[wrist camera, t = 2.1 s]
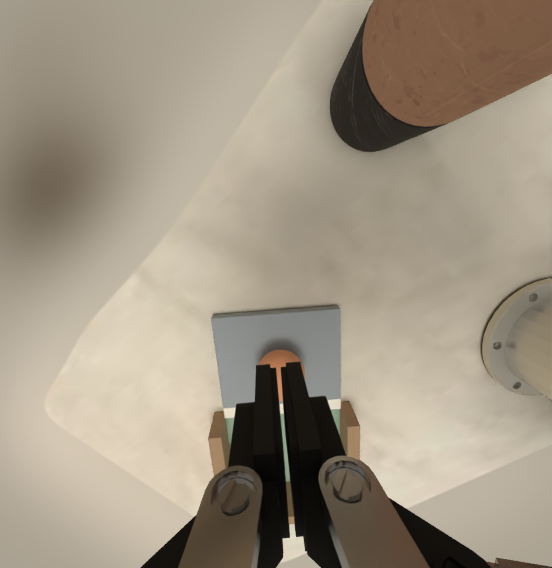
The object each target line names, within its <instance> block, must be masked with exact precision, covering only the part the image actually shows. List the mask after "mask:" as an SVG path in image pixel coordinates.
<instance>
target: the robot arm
mask: <svg viewBox="0 0 552 568" xmlns="http://www.w3.org/2000/svg"><path fill="white" fill-rule="evenodd" d="M482 356H483V360H484V364H485V366H486V368H487V370H488V372H489V374H490V375H491V376H492V377H493V378H494V379H495V380H496V381H497V382H499V383H500V384H501V385H503V386H504V387H505V388H507V389H509V390H510V391H512V392H515V393H519V394H522V395H531V396H536V395H545V396H546V397H548V398H549V399H551V400H552V278H548V279H544V280H540V281H537V282H534V283H532V284H530V285H527V286H525V287H523V288H522V289H520V290H519V291H517V292H516V293H514V294H513V295H512V296H510V297H509V298H508V299H507V300H506V301H505V302H503V304H502V305H501V306H500V307H499V308H498V310H497V311H496V312H495V313H494V315H493V317H492V318H491V320H490V322H489V323H488V326H487V328H486V331H485V333H484V338H483V343H482ZM281 381H282V395H283V410H284V425H285V436H286V446H287V455H288V465H289V474H290V484H291V494H292V503H293V513H294V522H295V532H296V537H300V536H303V537H304V545H305V551H307V554H308V556H309V557H310V558H311V559H313V560H314V561H315V562H316V563H317V564H318V565H319V566H320V567H321V568H552V567H549V566H543V565H537V564H531V563H525V562H519V561H513V560H507V559H501V558H496V560H495V563H491V562H486V561H485V560H484V559H482V558H481V557H480V556H479V555H477V554H476V553H475V552H473V551H472V550H470V549H469V548H467V547H466V546H464V545H462V544H461V543H459V542H458V541H456V540H455V539H453V538H451V537H450V536H448V535H447V534H445V533H444V532H442V531H440V530H439V529H437V528H436V527H434V526H432V525H431V524H429V523H428V522H426V521H425V520H423V519H421V518H420V517H418V516H416V515H415V514H413V513H412V512H410V511H409V510H407V509H406V508H404V507H403V506H401V505H399V504H398V503H396V502H395V501H393V500H391V499H390V498H388V496H387V495H386V493H385V491H384V490H383V488H382V486H381V485H380V483H379V481H378V480H377V478H376V476H375V475H374V473H373V472H372V471H371V469H370V468H369V467H368V466H367V465H366V464H364V463H363V462H362V461H360V460H358V459H356V458H354V457H349V456H346V453H345V450H344V447H343V444H342V441H341V438H340V435H339V433H338V430H337V427H336V424H335V421H334V418H333V415H332V412H331V409H330V406H329V403H328V400H327V398H326V396H316V397H309V395H308V391H307V387H306V383H305V379H304V375H303V371H302V367H301V363H300V362H288V363H286V367H281ZM282 538H290V532H289V518H288V503H287V489H286V475H285V461H284V449H283V437H282V426H281V415H280V405H279V394H278V383H277V372H276V367H275V368H271V367H270V364H264V365H256V379H255V402H248V403H237V404H236V409H235V416H234V424H233V432H232V439H231V447H230V455H229V463H228V468H226V469H223V470H222V471H220V472H219V473H218V474H216V475H215V476H214V477H213V478H212V480H211V481H210V482H209V484H208V486H207V488H206V490H205V492H204V495H203V498H202V501H201V504H200V507H199V510H198V512H197V515H196V516H195V517H194V518H193V519H192V520H191V521H189V522H188V524H186V525H185V526H184V527H183V528H182V529H181V530H180V531H179V532H178V533H177V534H176V535H175V536H174V537H172V539H170V540H169V541H168V542H167V543H166V544H165V545H164V546H163V547H162V548H161V549H160V550H159V551H158V552H157V553H156V554H155V555H153V556H152V557H151V558H150V559H149V560H148V561H147V562H146V563H145V564H144V565H143V566H142V567H141V568H276V567H277V565H278V564H279V563H280V561H281V560H282V558H283V541H282Z"/></svg>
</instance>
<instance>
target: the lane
mask: <svg viewBox="0 0 552 568" xmlns="http://www.w3.org/2000/svg"><path fill="white" fill-rule="evenodd" d="M211 321H212V328H213V336H214V343H215V350H216V358H217V365H218V373H219V380H220V388H221V395H222V402H223V410H224V412H215V413H214V417H213V421H212V425H211V429H210V433H209V438H208V441H209V447H210V453H211V460H212V466H213V472H214V476H215V475H216V474H218V473H219V472H220V471H222V470H223V469H226V468H228V463H229V455H230V447H231V439H232V432H233V424H234V416H235V409H236V404H237V403H248V402H255V379H256V365H258V364H259V362H260V361H261V359H262V358H263V357H264V356H265V355H266V354H268V353H269V352H271V351H274V350H287V351H290V352H292V353H293V354H295V355H296V356H297V357H298V358H299V359H300V360H301V362H302V364H303V366H304V369H305V383H306V387H307V391H308V395H309V397H316V396H326V398H327V400H328V403H329V406H330V409H331V412H332V415H333V418H334V421H335V424H336V427H337V430H338V433H339V435H340V438H341V441H342V444H343V447H344V450H345V453H346V456H349V457H354V458H356V459H358V460H360V424H359V422H358V420H357V418H356V415H355V413H354V411H353V409H352V406H351V404H350V402H341V365H340V308H339V307H338V305H336V306H323V307H310V308H296V309H283V310H270V311H256V312H243V313H229V314H216V315H213V316H212V318H211ZM279 405H280V415H281V426H282V437H283V449H284V461H285V475H286V489H287V503H288V518H289V524H295V522H294V513H293V503H292V494H291V484H290V474H289V465H288V455H287V446H286V436H285V425H284V410H283V401H279Z"/></svg>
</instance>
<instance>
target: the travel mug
mask: <svg viewBox="0 0 552 568" xmlns="http://www.w3.org/2000/svg"><path fill="white" fill-rule="evenodd" d="M550 74H552V0H373V2H372V4H371V6H370V8H369V10H368V13H367V15H366V17H365V19H364V21H363V23H362V25H361V27H360V29H359V31H358V34H357V36H356V38H355V40H354V42H353V44H352V46H351V48H350V50H349V53H348V55H347V57H346V59H345V61H344V63H343V65H342V67H341V69H340V72H339V74H338V76H337V78H336V81H335V83H334V86H333V89H332V93H331V99H330V112H331V118H332V122H333V125H334V127H335V129H336V131H337V133H338V134H339V136H340V137H341V138H342V139H343V141H345V142H346V143H347V144H348V145H350V146H351V147H353V148H355V149H358V150H361V151H367V152H373V151H379V150H383V149H386V148H389V147H391V146H394V145H396V144H399V143H401V142H404V141H406V140H409V139H411V138H413V137H416V136H418V135H421V134H423V133H426V132H428V131H431V130H433V129H435V128H438V127H440V126H443V125H445V124H447V123H450V122H452V121H454V120H456V119H459V118H461V117H463V116H465V115H467V114H469V113H471V112H473V111H475V110H477V109H479V108H481V107H484V106H486V105H488V104H490V103H492V102H494V101H496V100H498V99H500V98H502V97H504V96H506V95H508V94H511V93H513V92H515V91H517V90H519V89H521V88H523V87H525V86H527V85H529V84H531V83H533V82H535V81H538V80H540V79H542V78H544V77H546V76H548V75H550Z"/></svg>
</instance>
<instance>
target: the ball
mask: <svg viewBox="0 0 552 568" xmlns="http://www.w3.org/2000/svg"><path fill="white" fill-rule="evenodd" d="M288 362H300V363H301V367H302V371H303V375H304V379H305V369H304V366H303V364H302V362H301V360H300V359H299V358H298V357H297V356H296V355H295V354H293V353H292V352H290V351H287V350H274V351H271V352H269V353H268V354H266V355H265V356H264V357H263V358H262V359H261V361H260V362H259V364H258V365H264V364H270V367H271V368H275V367H276V372H277V383H278V394H279V401H283V395H282V381H281V367H286V363H288Z"/></svg>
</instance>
